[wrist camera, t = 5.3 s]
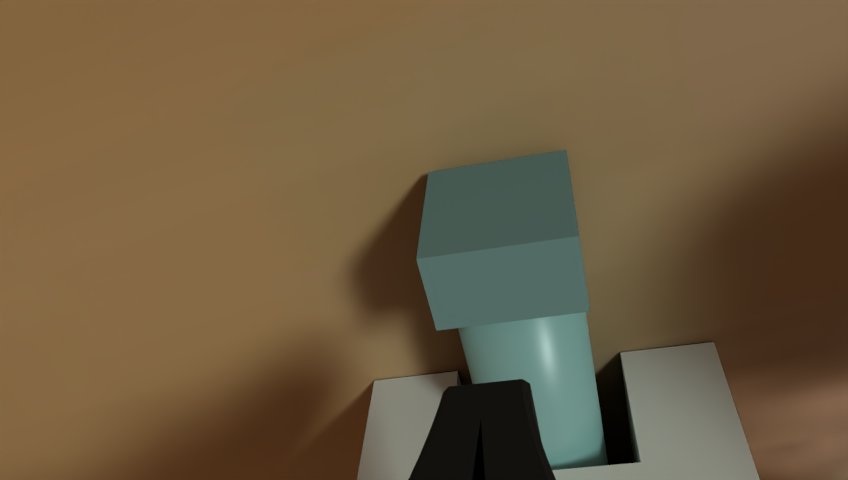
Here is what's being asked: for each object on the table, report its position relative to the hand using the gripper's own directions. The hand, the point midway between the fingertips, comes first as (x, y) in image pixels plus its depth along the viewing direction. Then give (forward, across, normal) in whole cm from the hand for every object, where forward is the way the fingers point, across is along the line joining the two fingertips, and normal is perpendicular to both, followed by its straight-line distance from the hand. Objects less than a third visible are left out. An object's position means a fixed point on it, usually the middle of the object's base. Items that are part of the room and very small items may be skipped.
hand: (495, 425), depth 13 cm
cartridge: (+8, 0, +7) cm, 11 cm away
